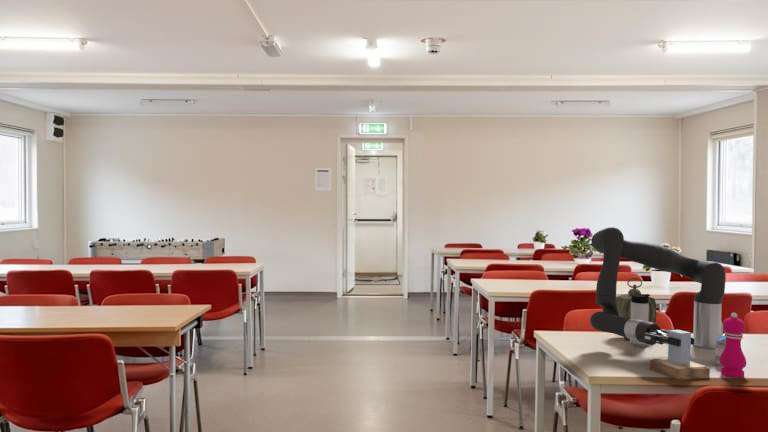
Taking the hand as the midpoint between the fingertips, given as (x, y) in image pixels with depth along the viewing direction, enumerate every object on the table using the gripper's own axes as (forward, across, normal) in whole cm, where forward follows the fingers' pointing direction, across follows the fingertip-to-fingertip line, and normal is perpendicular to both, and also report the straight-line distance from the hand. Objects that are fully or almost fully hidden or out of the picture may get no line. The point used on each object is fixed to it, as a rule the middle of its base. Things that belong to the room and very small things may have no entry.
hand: (686, 342), depth 173 cm
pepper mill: (+5, +15, +11) cm, 19 cm away
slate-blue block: (-2, 0, +7) cm, 8 cm away
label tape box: (-5, +26, +11) cm, 28 cm away
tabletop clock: (-44, +28, +11) cm, 53 cm away
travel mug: (-34, +20, +11) cm, 41 cm away
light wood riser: (-2, 0, +10) cm, 11 cm away
